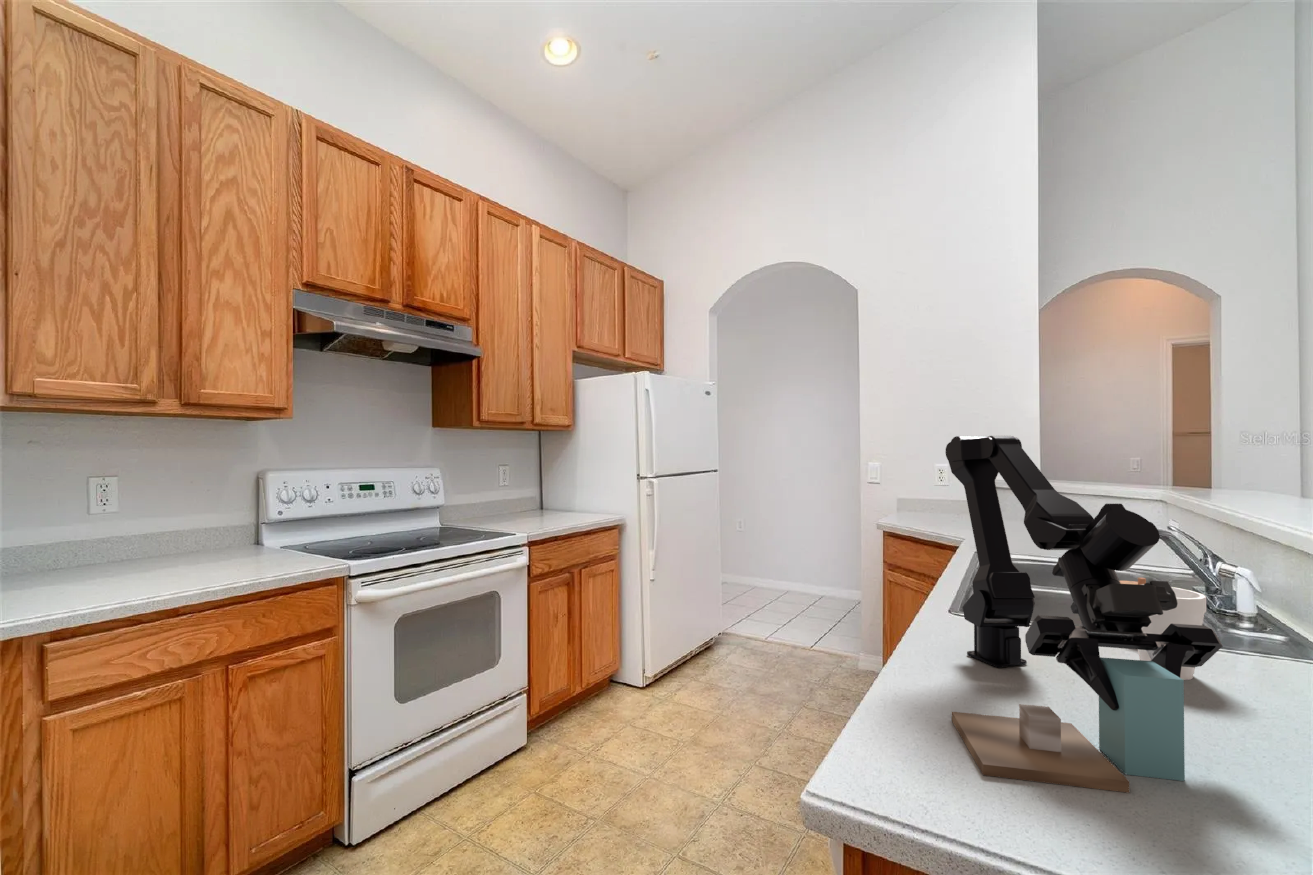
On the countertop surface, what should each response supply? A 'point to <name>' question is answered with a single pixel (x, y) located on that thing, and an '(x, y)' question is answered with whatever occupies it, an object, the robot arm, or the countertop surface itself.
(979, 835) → the countertop surface
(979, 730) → the post board
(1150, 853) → the countertop surface
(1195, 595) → the foam cup
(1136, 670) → the teal rectangular prism
